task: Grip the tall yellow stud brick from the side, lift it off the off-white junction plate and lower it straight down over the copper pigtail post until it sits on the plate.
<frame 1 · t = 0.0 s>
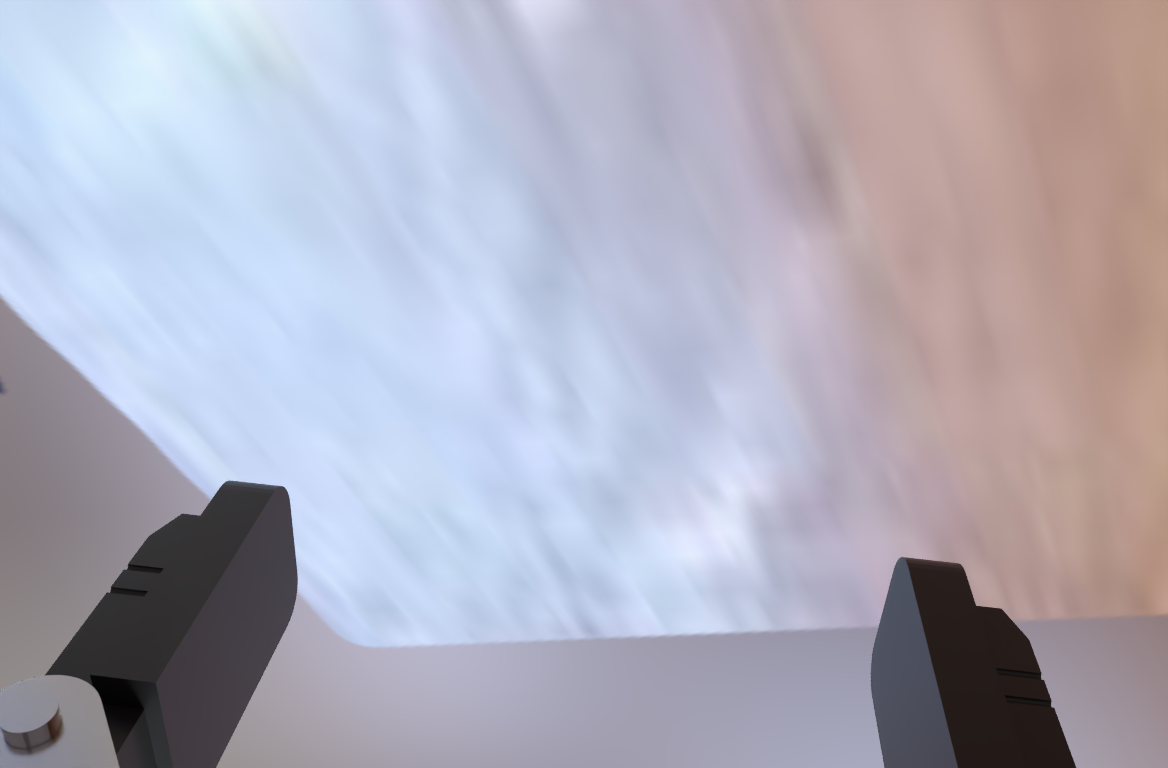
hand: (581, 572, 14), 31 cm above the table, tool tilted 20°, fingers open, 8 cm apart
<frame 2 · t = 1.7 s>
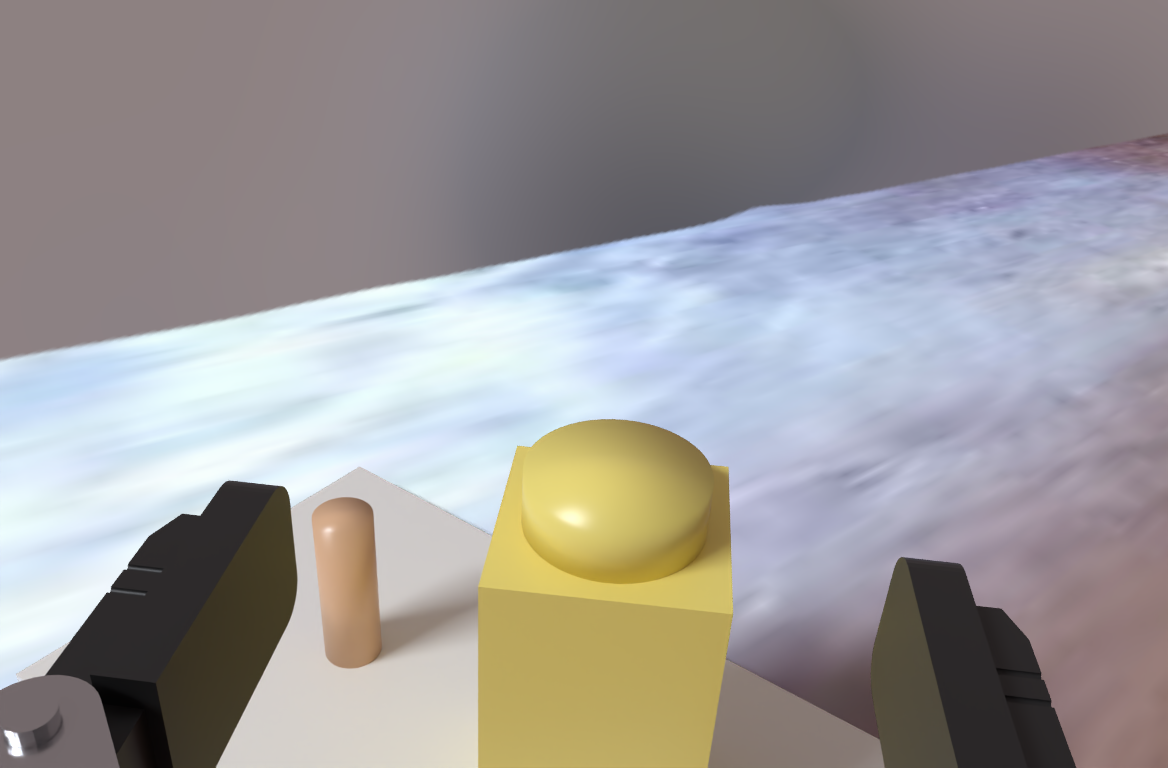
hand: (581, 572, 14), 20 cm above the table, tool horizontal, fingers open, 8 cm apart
junction plate: (458, 745, 36), on the table
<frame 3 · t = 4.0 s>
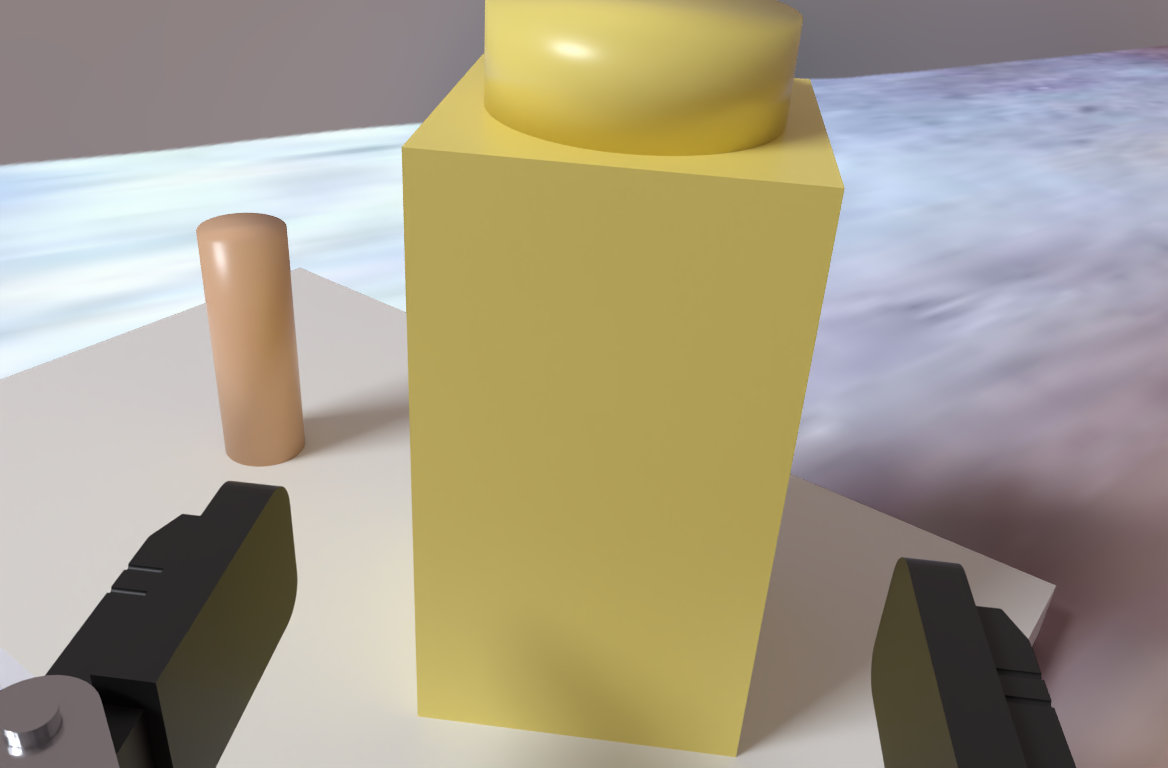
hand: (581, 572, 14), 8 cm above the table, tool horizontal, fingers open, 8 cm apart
tall yellow stud brick: (591, 625, 22), point 1 cm above the table, touching junction plate
junction plate: (405, 570, 26), on the table
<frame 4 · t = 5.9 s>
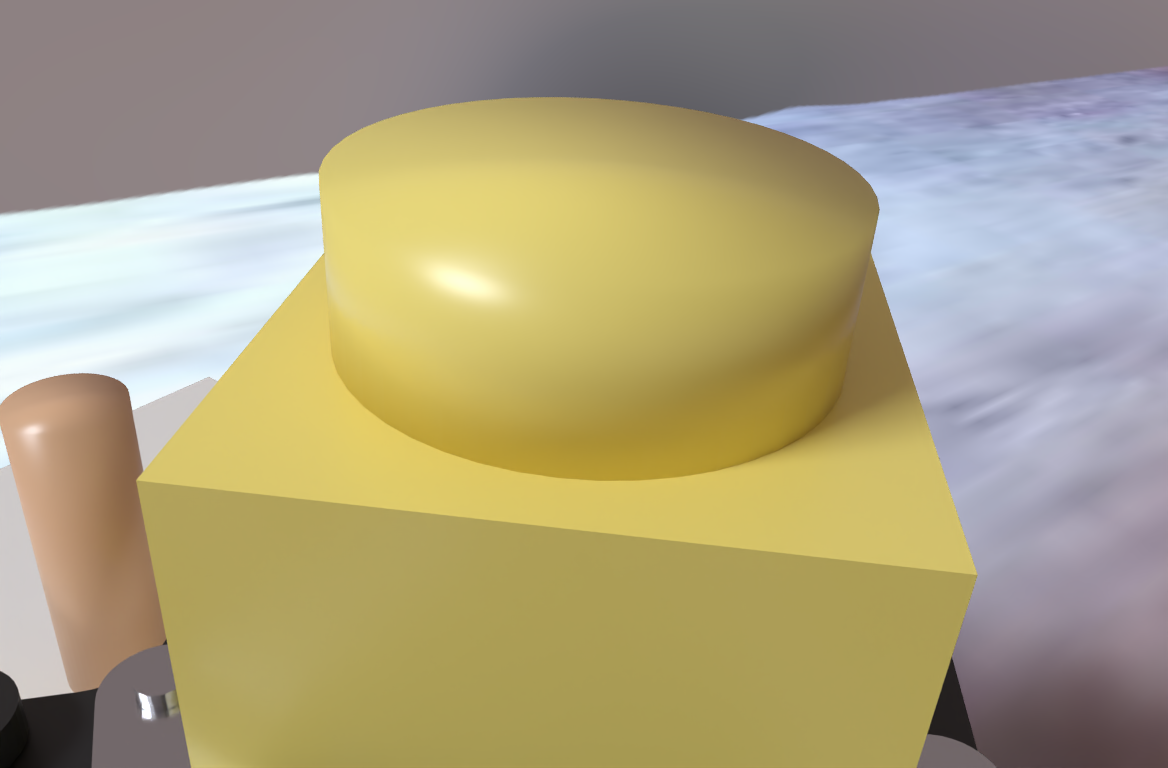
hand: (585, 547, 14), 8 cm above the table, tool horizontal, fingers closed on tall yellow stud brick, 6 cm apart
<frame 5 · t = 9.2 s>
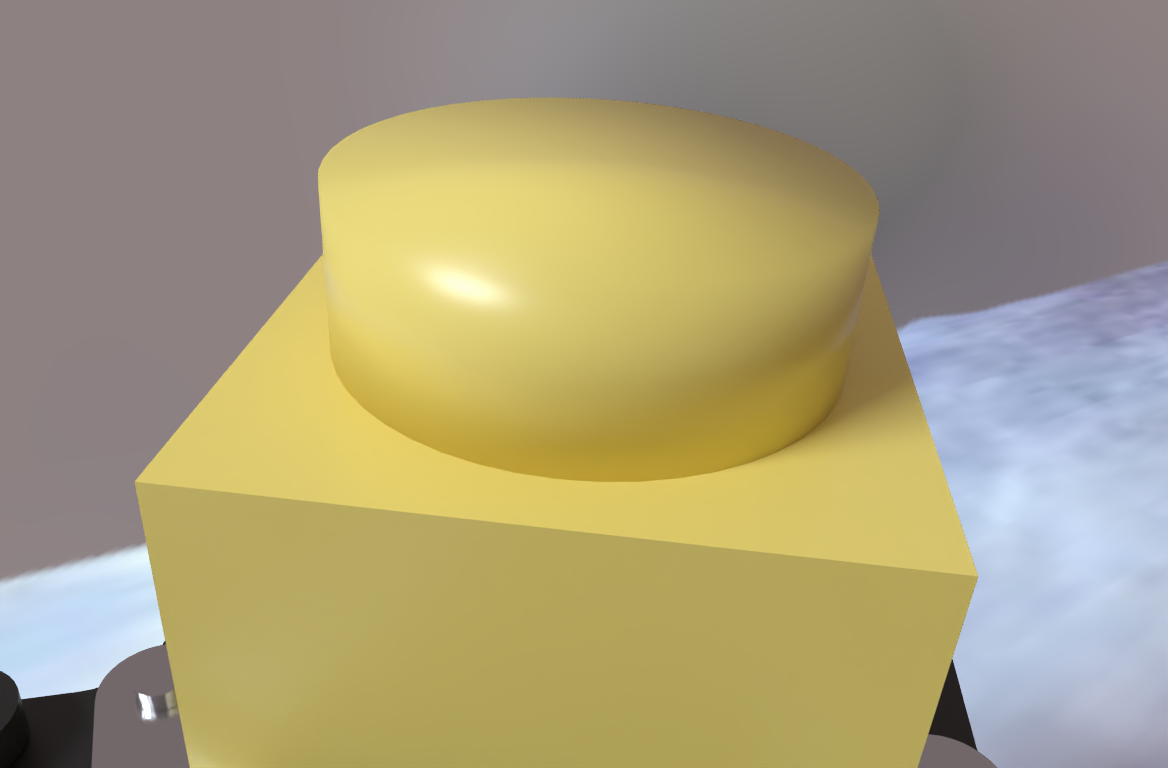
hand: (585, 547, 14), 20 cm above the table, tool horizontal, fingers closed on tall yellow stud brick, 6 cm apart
when the fingers open (8 cm above the table, at t = 12.5 s): tall yellow stud brick stays where it is, resting on junction plate.
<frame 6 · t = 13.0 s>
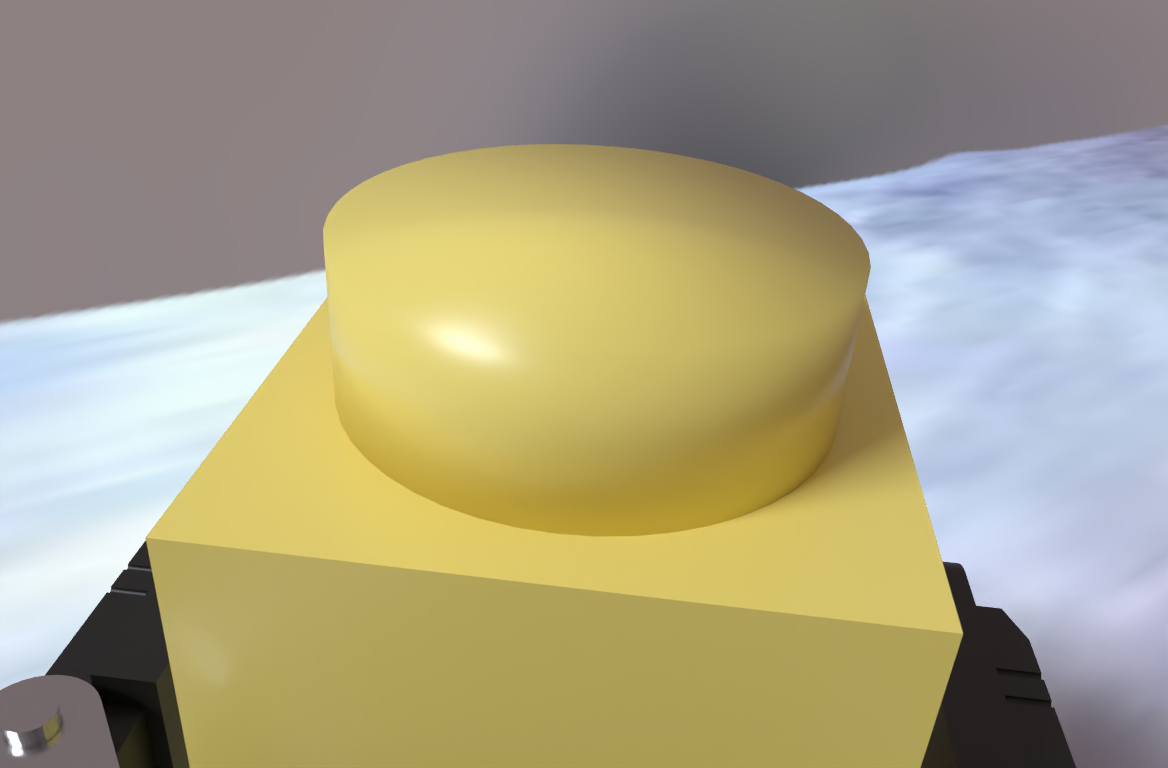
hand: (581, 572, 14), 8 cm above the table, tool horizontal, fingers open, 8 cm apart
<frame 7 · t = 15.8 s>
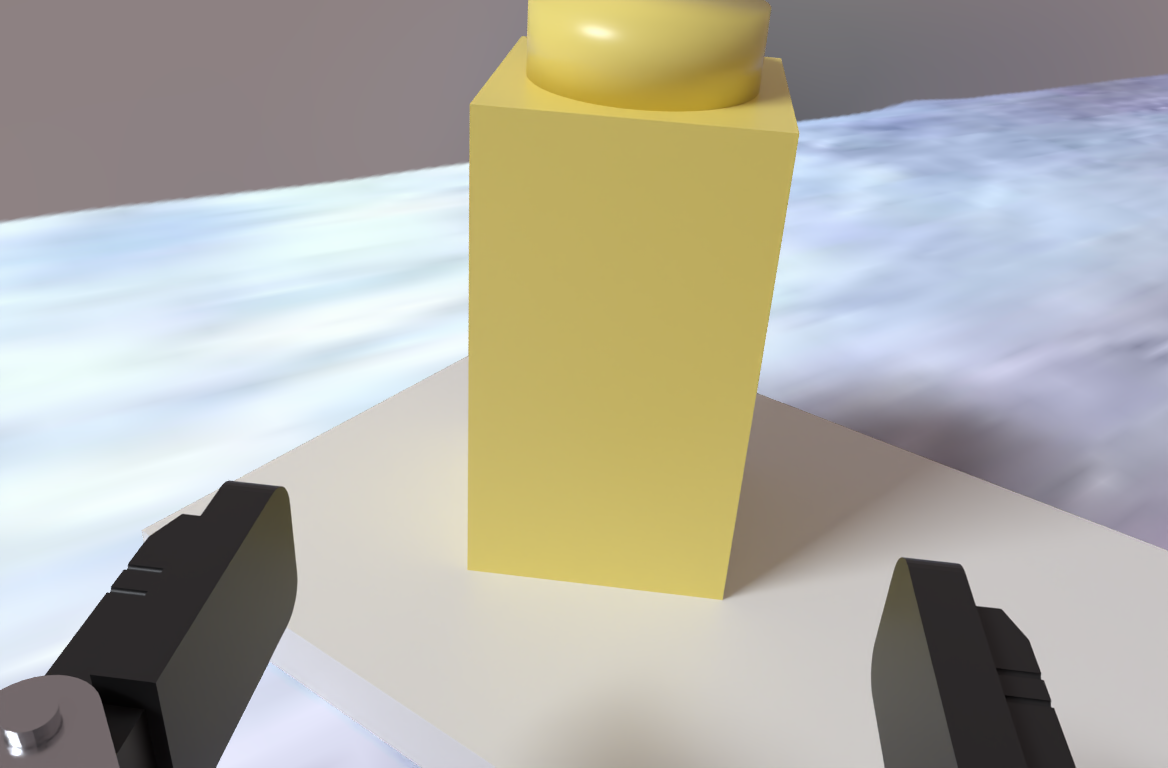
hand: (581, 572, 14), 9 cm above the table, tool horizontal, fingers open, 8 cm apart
tall yellow stud brick: (605, 508, 27), point 1 cm above the table, touching junction plate
junction plate: (768, 639, 25), on the table
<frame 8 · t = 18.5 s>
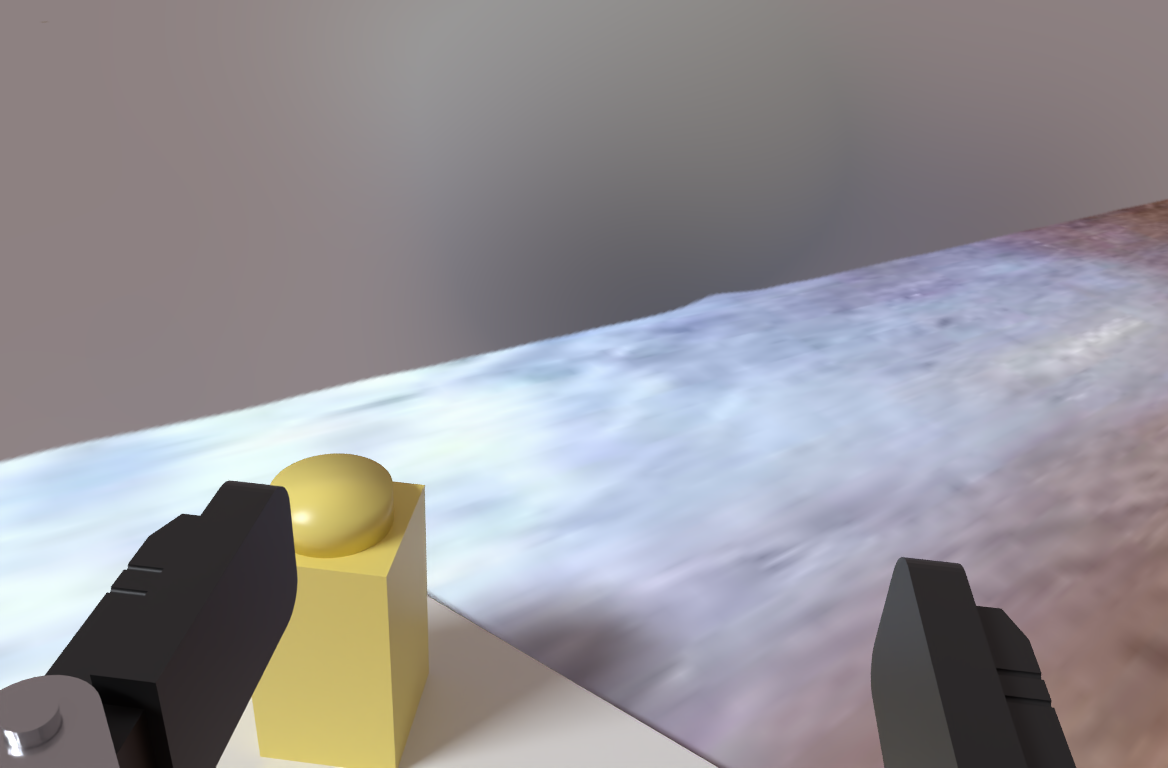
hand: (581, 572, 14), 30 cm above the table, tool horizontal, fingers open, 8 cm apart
tall yellow stud brick: (348, 712, 48), point 1 cm above the table, touching junction plate
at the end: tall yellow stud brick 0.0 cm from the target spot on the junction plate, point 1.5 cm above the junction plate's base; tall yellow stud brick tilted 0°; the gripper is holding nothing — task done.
